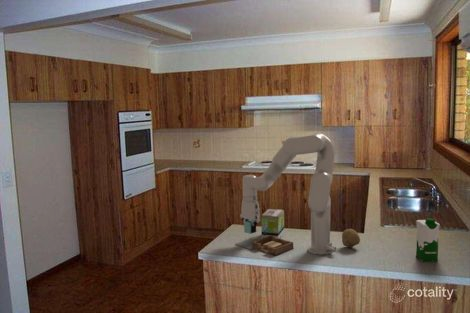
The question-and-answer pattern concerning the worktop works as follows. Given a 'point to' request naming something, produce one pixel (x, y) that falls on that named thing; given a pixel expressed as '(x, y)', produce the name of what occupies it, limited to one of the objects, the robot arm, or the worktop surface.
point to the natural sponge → (350, 238)
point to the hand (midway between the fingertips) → (250, 231)
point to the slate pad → (246, 244)
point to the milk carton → (427, 239)
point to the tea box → (273, 223)
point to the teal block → (247, 226)
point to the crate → (272, 245)
